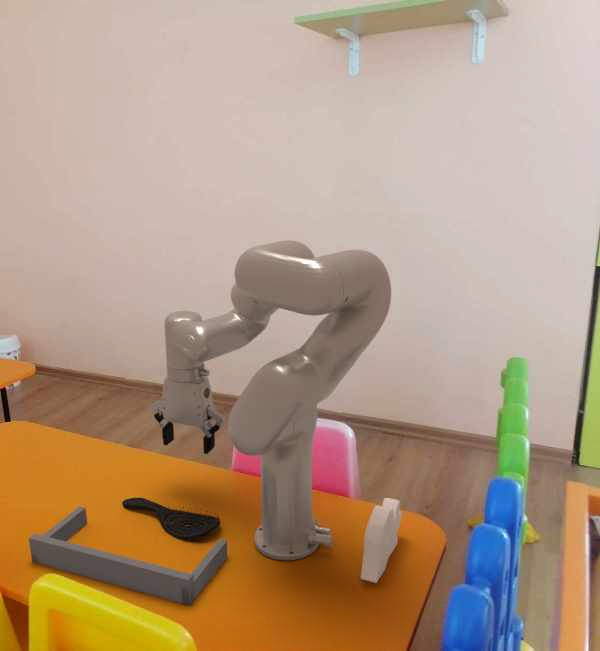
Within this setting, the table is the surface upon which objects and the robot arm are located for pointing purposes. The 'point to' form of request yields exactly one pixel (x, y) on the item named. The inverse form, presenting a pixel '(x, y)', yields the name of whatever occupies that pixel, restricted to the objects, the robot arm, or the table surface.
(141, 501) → the hairbrush
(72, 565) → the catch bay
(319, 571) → the table surface
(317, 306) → the robot arm
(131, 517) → the table surface
